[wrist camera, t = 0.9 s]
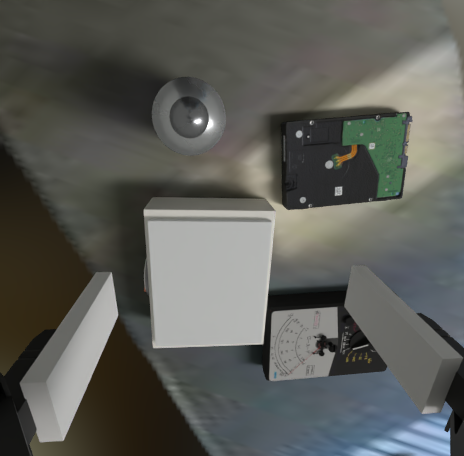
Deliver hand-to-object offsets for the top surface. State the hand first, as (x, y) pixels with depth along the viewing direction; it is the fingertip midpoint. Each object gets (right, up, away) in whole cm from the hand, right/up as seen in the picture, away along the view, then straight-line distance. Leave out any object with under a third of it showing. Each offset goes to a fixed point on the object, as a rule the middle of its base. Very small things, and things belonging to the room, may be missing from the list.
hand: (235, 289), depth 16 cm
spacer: (-5, +16, +17) cm, 23 cm away
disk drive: (+13, +12, +20) cm, 27 cm away
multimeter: (+14, -12, +29) cm, 34 cm away
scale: (-3, -1, +23) cm, 23 cm away
